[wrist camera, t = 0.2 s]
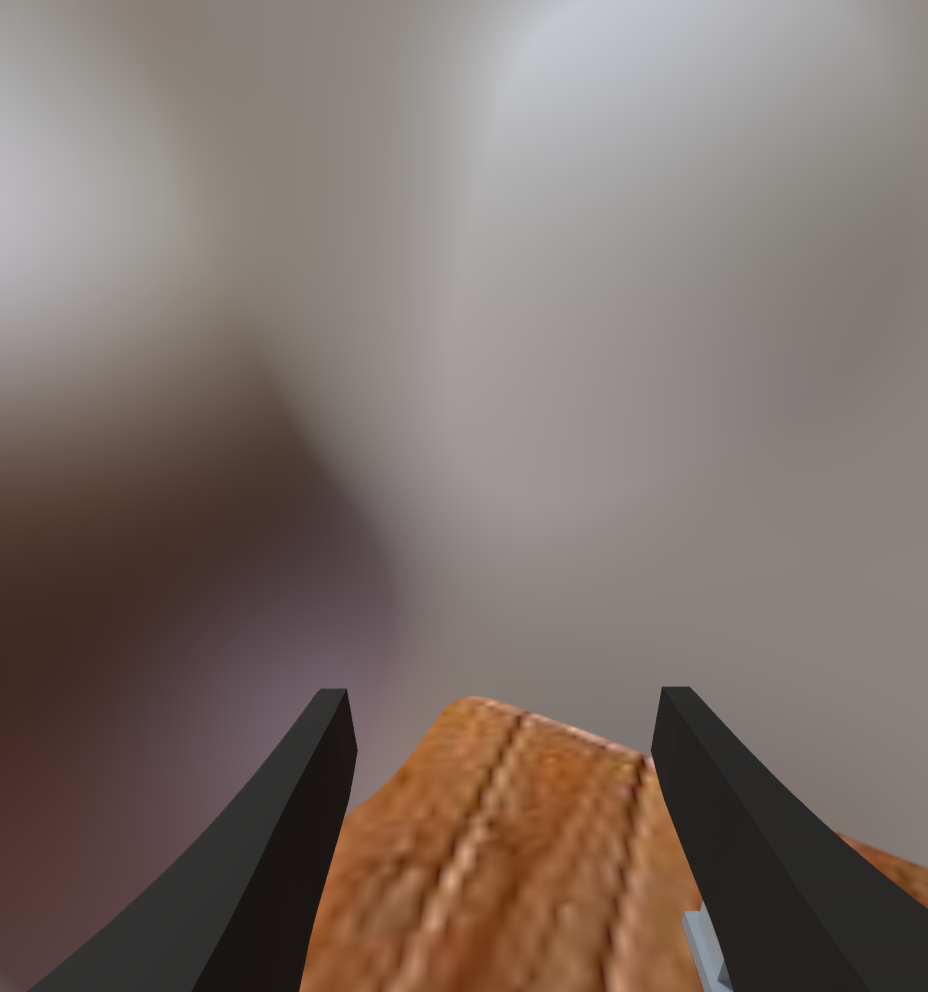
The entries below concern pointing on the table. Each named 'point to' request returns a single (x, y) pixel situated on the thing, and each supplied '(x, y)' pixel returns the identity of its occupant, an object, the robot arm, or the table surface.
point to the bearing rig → (706, 951)
